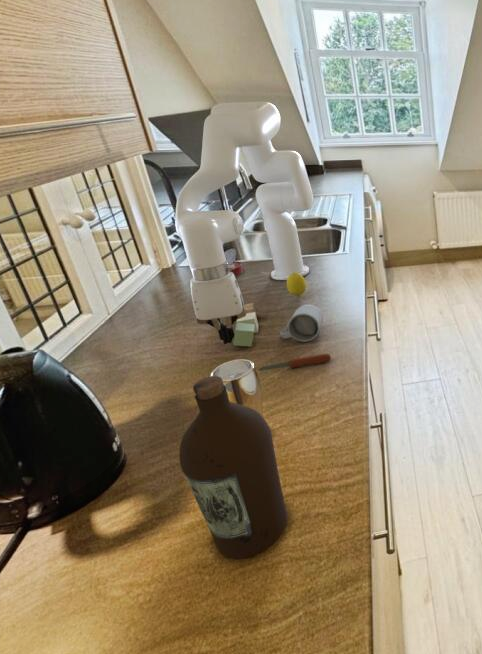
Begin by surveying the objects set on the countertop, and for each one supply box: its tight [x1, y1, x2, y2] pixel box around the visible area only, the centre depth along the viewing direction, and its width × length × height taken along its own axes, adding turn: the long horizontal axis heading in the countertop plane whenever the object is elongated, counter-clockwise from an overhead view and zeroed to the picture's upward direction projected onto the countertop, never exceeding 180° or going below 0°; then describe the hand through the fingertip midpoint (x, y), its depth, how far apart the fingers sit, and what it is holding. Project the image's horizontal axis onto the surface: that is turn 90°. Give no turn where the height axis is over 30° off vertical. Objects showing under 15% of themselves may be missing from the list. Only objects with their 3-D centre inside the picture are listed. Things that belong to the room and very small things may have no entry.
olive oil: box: [178, 375, 288, 560], centre depth 60 cm, size 11×11×25 cm
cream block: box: [236, 311, 259, 334], centre depth 120 cm, size 4×4×4 cm
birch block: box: [244, 302, 257, 314], centre depth 125 cm, size 4×4×4 cm
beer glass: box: [210, 358, 265, 419], centre depth 78 cm, size 7×7×15 cm
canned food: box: [224, 248, 244, 277], centre depth 159 cm, size 11×10×10 cm
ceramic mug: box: [279, 303, 324, 343], centre depth 116 cm, size 11×8×8 cm
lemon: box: [286, 272, 307, 298], centre depth 138 cm, size 6×6×8 cm
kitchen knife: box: [257, 352, 332, 372], centre depth 103 cm, size 16×1×2 cm, turn 107°
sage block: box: [232, 322, 255, 348], centre depth 113 cm, size 4×4×4 cm
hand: (228, 341), depth 112 cm, fingers closed
